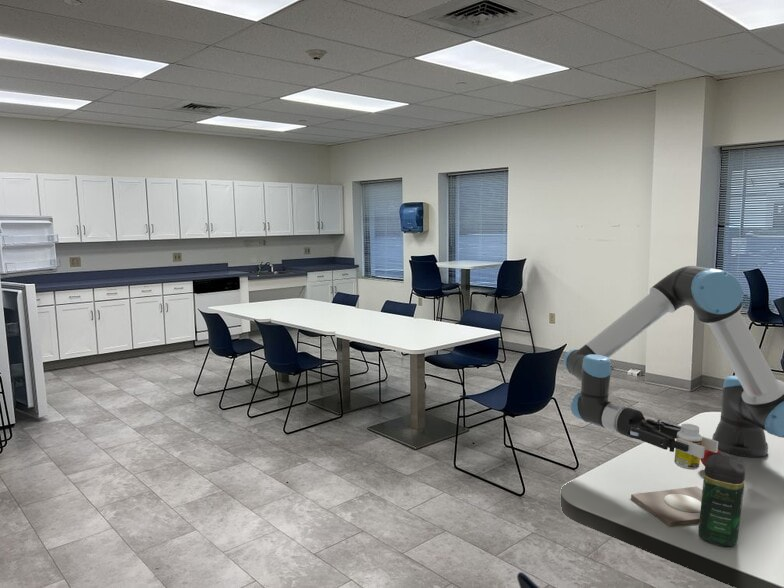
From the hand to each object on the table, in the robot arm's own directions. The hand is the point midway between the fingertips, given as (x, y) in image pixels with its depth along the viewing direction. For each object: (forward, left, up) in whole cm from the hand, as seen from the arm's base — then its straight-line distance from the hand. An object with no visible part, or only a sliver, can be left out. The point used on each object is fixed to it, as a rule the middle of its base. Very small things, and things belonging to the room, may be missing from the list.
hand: (710, 449), depth 136 cm
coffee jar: (+4, +8, -17) cm, 19 cm away
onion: (-21, -21, -17) cm, 34 cm away
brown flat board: (+2, -5, -17) cm, 18 cm away
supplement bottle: (+2, -5, -6) cm, 8 cm away
